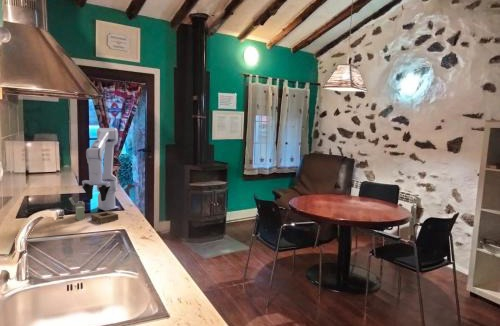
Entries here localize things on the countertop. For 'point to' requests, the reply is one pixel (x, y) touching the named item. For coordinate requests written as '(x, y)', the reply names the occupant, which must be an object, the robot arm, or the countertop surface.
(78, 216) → the sage peg
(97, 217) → the brown square frame
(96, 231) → the countertop surface
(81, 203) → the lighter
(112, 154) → the robot arm
